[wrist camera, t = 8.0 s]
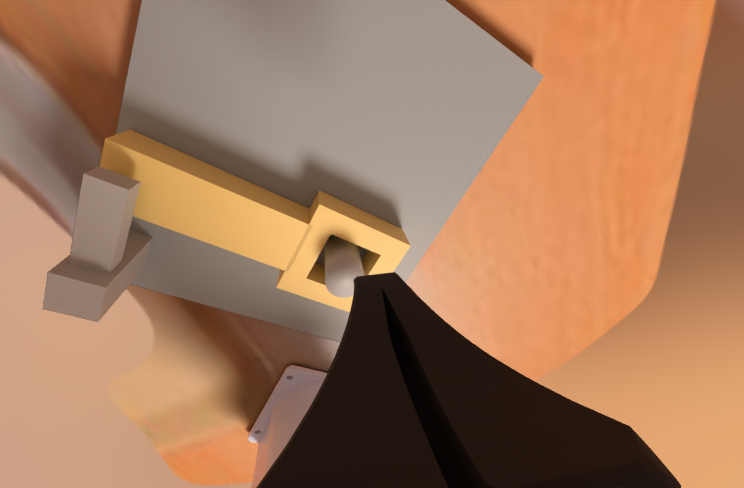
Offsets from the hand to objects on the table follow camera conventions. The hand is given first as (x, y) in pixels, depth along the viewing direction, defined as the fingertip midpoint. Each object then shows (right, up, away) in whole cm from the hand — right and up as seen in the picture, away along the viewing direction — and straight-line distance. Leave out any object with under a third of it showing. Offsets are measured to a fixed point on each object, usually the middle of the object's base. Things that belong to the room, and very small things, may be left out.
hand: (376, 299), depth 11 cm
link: (-6, +3, +7) cm, 10 cm away
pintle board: (-4, +6, +8) cm, 10 cm away
